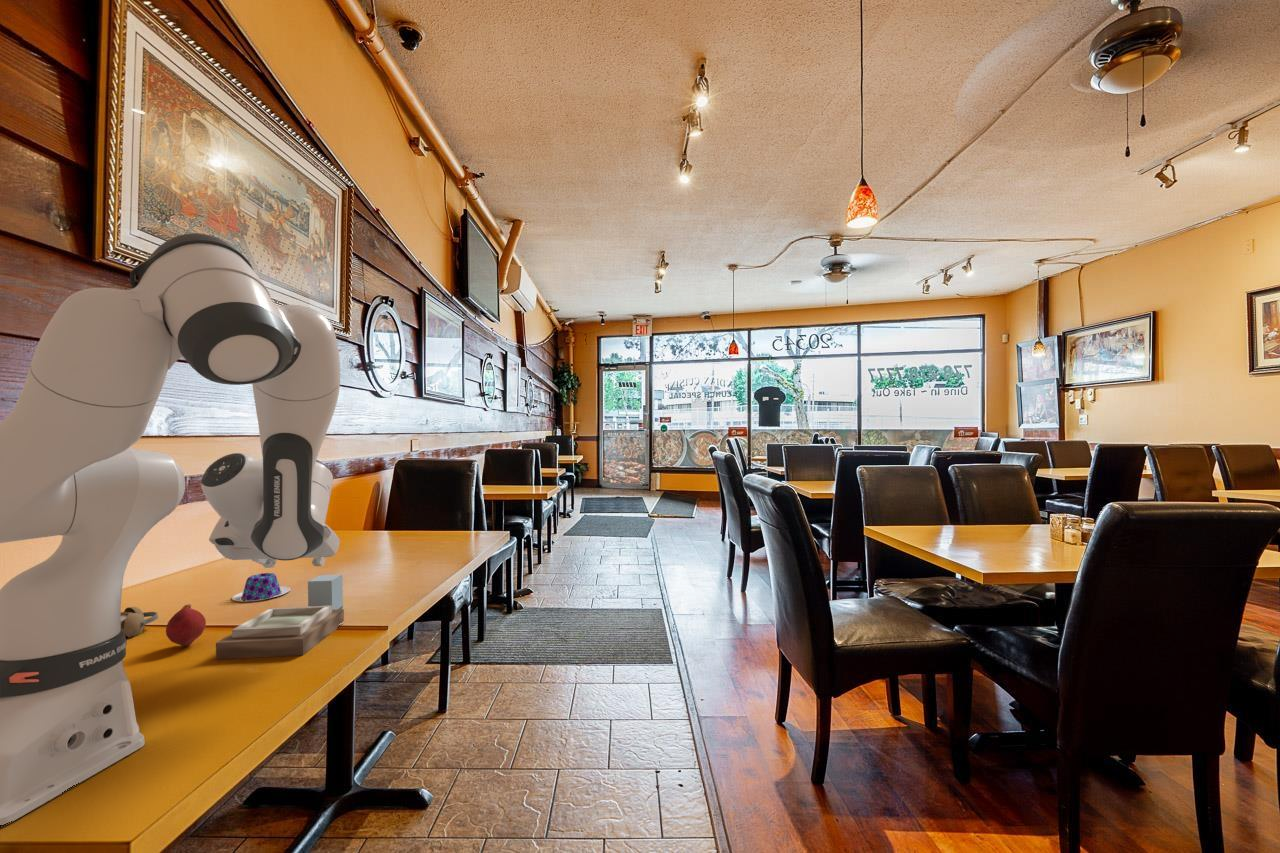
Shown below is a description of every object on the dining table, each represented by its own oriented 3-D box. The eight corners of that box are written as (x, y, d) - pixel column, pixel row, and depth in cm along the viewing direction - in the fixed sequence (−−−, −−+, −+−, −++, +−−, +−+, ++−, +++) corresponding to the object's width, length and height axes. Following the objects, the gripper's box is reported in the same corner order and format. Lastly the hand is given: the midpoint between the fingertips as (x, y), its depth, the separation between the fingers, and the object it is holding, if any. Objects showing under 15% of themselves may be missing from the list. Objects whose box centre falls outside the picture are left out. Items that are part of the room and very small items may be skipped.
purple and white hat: (298, 594, 136) (297, 573, 136) (241, 607, 126) (240, 585, 126) (280, 586, 143) (279, 566, 143) (225, 598, 134) (224, 577, 134)
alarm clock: (53, 626, 107) (152, 595, 118) (60, 649, 108) (158, 617, 118) (48, 642, 99) (155, 607, 110) (56, 666, 100) (162, 630, 110)
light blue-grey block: (332, 617, 118) (331, 580, 118) (308, 617, 118) (307, 581, 118) (342, 609, 123) (342, 574, 123) (320, 610, 123) (319, 575, 123)
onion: (182, 653, 100) (182, 610, 100) (158, 651, 101) (157, 608, 101) (213, 641, 106) (212, 600, 106) (189, 639, 107) (189, 598, 107)
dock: (303, 655, 98) (302, 630, 98) (216, 659, 97) (215, 634, 97) (343, 623, 114) (343, 602, 114) (269, 626, 113) (269, 604, 113)
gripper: (330, 508, 102) (354, 548, 112) (215, 511, 100) (250, 552, 110) (318, 537, 98) (344, 576, 107) (198, 540, 96) (236, 580, 106)
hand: (296, 564), depth 109 cm, fingers open, 8 cm apart
